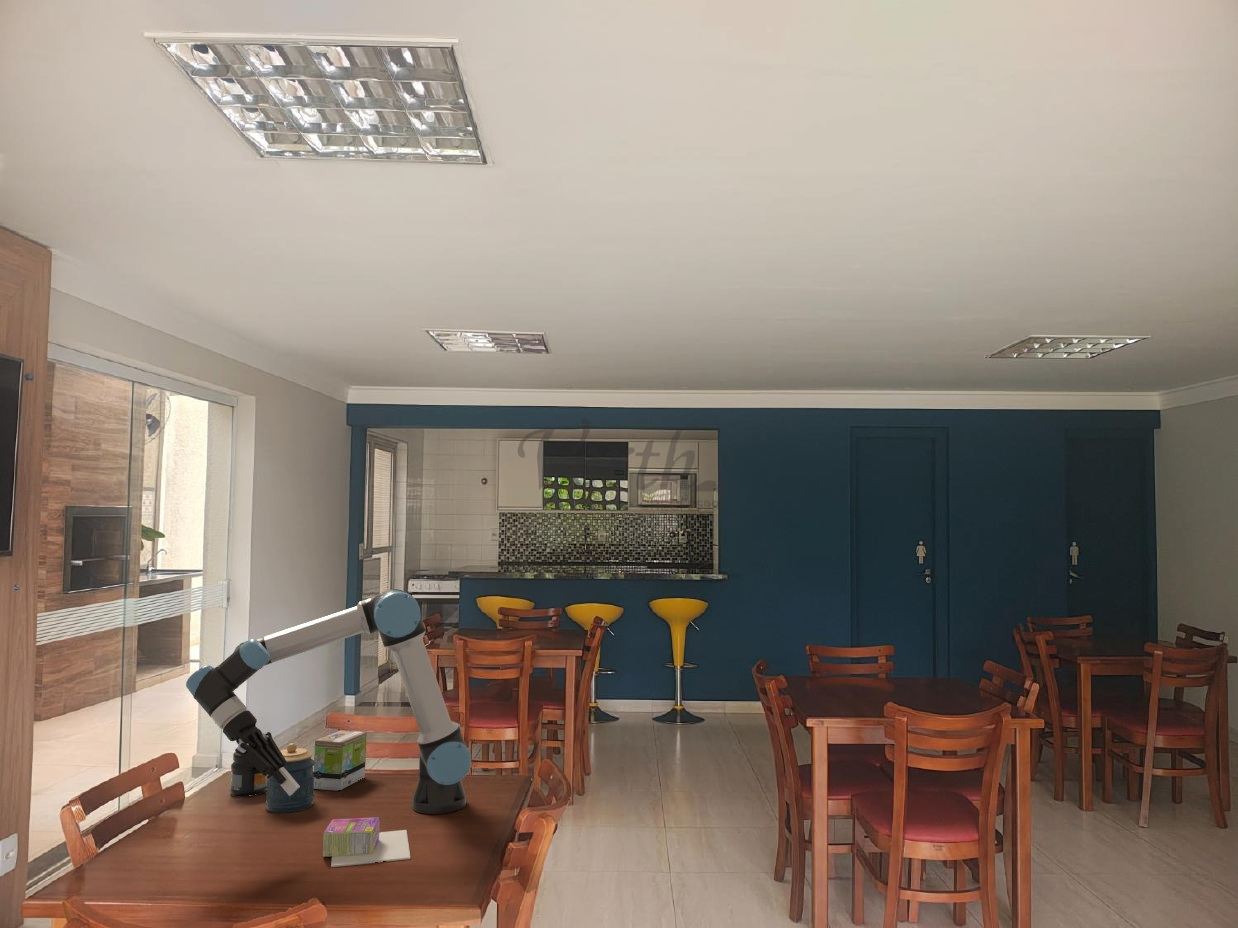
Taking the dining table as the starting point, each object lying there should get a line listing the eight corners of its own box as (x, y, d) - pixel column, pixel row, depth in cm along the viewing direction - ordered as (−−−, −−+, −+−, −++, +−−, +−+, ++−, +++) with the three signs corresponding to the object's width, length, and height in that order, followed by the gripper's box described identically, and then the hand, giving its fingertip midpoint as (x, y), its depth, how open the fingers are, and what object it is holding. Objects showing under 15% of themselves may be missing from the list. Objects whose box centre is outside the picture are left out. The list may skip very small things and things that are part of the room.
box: (332, 818, 214) (380, 816, 215) (331, 841, 214) (379, 839, 215) (322, 832, 204) (372, 830, 205) (321, 856, 203) (372, 855, 204)
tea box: (341, 791, 257) (343, 741, 259) (311, 789, 259) (313, 739, 261) (366, 777, 272) (367, 730, 273) (337, 775, 274) (338, 729, 275)
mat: (406, 831, 222) (406, 829, 222) (410, 858, 203) (410, 857, 203) (334, 838, 217) (334, 836, 217) (331, 867, 198) (331, 865, 198)
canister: (323, 804, 245) (325, 741, 246) (284, 816, 234) (286, 751, 235) (294, 796, 252) (296, 736, 253) (255, 808, 241) (257, 744, 242)
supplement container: (275, 789, 259) (276, 749, 260) (247, 799, 249) (249, 757, 250) (250, 785, 263) (251, 746, 264) (221, 795, 254) (223, 753, 255)
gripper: (239, 724, 219) (297, 793, 215) (208, 735, 206) (269, 810, 202) (259, 704, 219) (318, 773, 215) (229, 714, 206) (291, 788, 202)
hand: (294, 791), depth 209 cm, fingers closed
